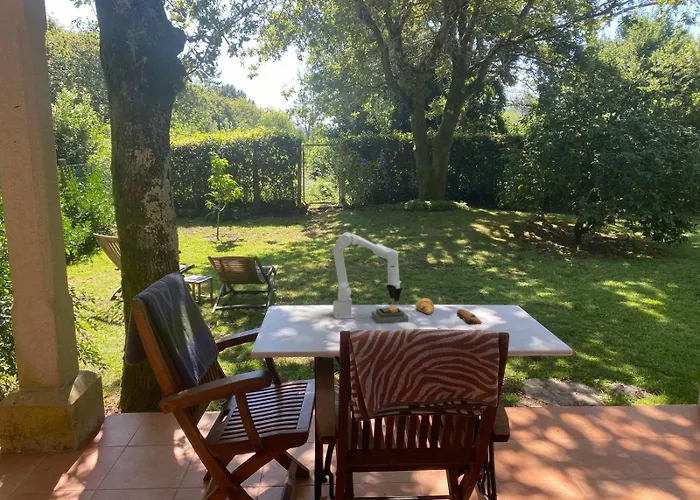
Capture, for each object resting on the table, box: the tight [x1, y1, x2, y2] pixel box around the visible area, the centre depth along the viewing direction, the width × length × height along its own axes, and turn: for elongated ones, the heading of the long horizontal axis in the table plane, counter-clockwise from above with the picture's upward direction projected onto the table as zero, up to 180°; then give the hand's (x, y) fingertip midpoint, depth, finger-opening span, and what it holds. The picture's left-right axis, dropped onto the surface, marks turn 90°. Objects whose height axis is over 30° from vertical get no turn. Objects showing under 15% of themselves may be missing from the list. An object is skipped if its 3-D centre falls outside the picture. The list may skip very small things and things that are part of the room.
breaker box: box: [371, 307, 409, 324], centre depth 273 cm, size 16×12×4 cm
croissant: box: [415, 297, 435, 315], centre depth 291 cm, size 21×10×8 cm, turn 5°
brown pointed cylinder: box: [456, 309, 483, 326], centre depth 274 cm, size 18×7×7 cm
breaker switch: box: [381, 306, 398, 313], centre depth 272 cm, size 7×5×2 cm
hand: (394, 299), depth 273 cm, fingers open, 7 cm apart
